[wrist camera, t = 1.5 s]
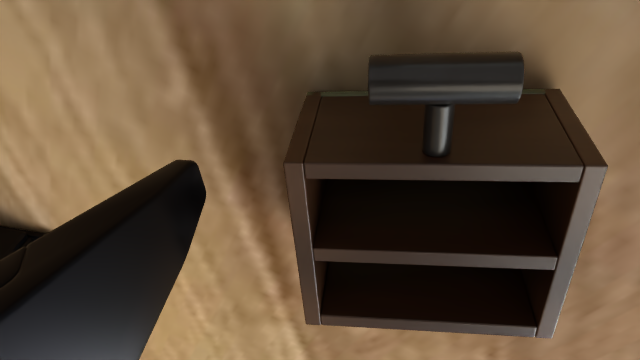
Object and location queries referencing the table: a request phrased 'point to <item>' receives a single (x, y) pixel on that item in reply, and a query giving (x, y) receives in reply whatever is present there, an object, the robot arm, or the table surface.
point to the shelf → (440, 198)
